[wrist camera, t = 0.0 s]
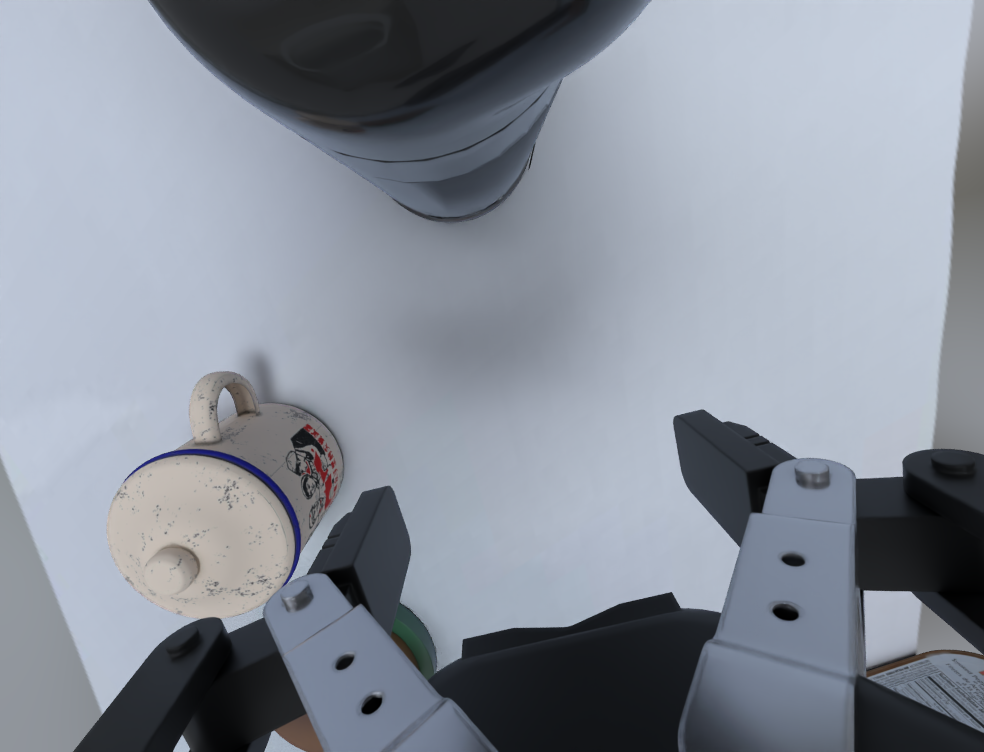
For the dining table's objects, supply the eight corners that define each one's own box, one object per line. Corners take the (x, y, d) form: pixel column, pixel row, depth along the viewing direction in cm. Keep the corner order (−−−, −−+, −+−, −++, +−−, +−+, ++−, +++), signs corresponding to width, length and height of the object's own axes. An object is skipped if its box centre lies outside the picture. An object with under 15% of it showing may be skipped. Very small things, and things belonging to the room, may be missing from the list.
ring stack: (236, 610, 34) (212, 643, 31) (407, 569, 33) (400, 600, 30) (298, 743, 37) (282, 785, 34) (456, 709, 36) (454, 749, 33)
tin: (790, 720, 37) (876, 850, 29) (780, 691, 36) (865, 816, 28) (980, 657, 36) (1125, 775, 28) (973, 626, 35) (1121, 737, 27)
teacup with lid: (356, 520, 32) (286, 661, 21) (224, 526, 32) (83, 671, 21) (334, 350, 29) (240, 407, 18) (189, 356, 29) (3, 418, 18)
